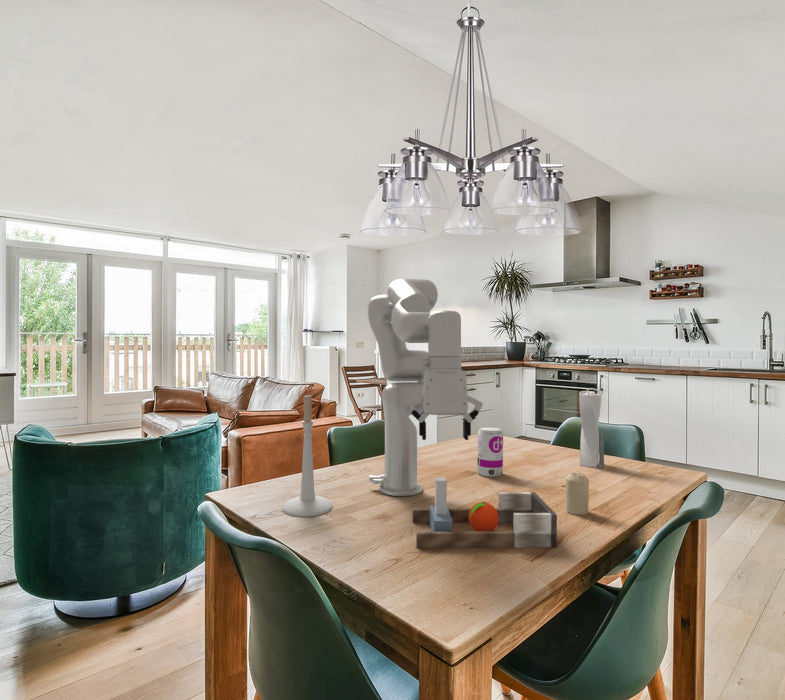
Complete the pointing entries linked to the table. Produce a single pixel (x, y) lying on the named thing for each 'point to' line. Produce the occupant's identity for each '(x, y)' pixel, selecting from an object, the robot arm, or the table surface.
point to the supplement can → (490, 451)
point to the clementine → (483, 517)
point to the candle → (577, 494)
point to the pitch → (521, 508)
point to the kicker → (440, 508)
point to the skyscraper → (590, 430)
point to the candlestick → (307, 476)
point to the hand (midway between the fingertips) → (444, 438)
